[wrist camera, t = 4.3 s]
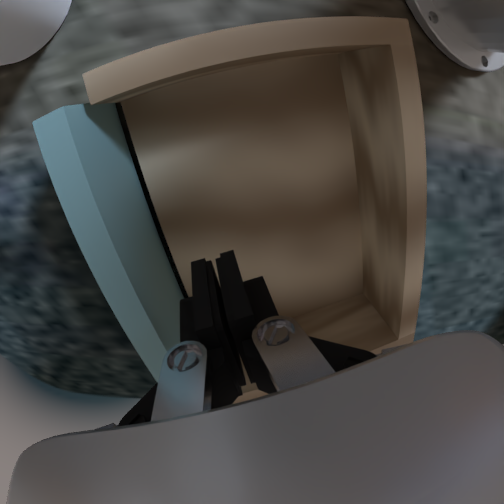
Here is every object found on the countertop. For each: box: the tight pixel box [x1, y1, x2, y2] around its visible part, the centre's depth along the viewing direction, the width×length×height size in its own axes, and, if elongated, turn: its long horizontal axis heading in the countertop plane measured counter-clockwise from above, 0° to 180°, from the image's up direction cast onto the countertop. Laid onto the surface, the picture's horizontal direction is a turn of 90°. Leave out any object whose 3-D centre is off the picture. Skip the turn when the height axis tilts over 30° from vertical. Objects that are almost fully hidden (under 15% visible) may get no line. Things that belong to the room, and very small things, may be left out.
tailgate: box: [32, 103, 184, 382], centre depth 14 cm, size 16×1×7 cm, turn 13°
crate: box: [82, 16, 427, 404], centre depth 16 cm, size 18×12×6 cm
